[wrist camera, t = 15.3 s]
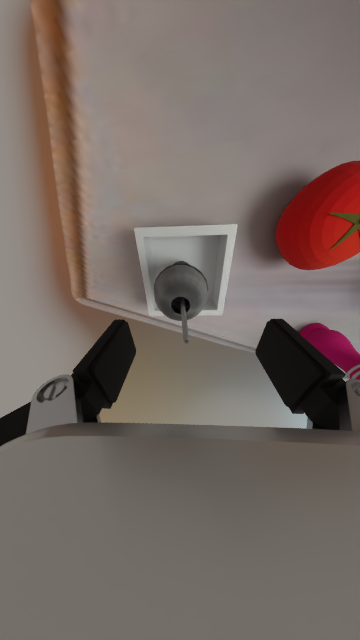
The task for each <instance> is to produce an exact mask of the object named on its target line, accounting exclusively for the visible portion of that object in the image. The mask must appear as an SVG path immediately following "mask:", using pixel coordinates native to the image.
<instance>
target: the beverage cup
mask: <svg viewBox="0 0 360 640" xmlns="http://www.w3.org/2000/svg"><path fill="white" fill-rule="evenodd" d="M207 296H208V285H207V280H206V278H205V277H204V275H203V274H202V272H201V271H199V270H198V269H197V268H196V267H194V266H191V265H190V264H188V263H187V262H185V261H178V262H176V263H174V264H173V265H171V266H168V267H166V268H165V269H164V270H163V271H161V272H160V274H159V275H158V277H157V278H156V280H155V284H154V297H155V302H156V304H157V306H158V308H159V310H160V311H161V312H162V313H163V314H164V315H165V316H167V317H169V318H170V319H173V320H177V321H182V328H183V339H184V343H185V344H187V343H189V335H188V327H187V320H188V319H191V318H193V317H195V316H196V315H198V314H199V313H200V312H201V311H202V310H203V308H204V306H205V304H206V302H207Z"/></svg>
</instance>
